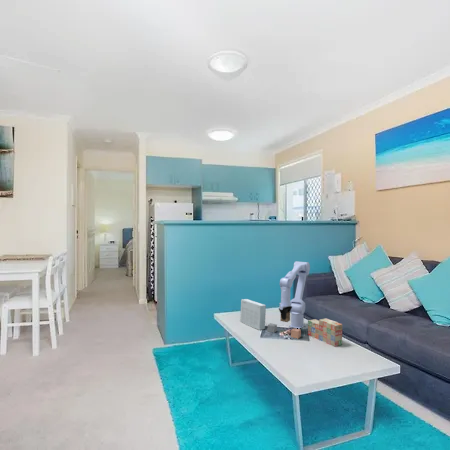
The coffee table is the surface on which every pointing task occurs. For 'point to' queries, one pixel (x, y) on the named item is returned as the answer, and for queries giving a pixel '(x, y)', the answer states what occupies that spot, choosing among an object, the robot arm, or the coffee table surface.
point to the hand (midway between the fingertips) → (285, 318)
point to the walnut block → (286, 317)
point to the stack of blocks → (326, 331)
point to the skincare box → (253, 314)
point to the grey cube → (272, 327)
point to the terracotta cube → (296, 333)
